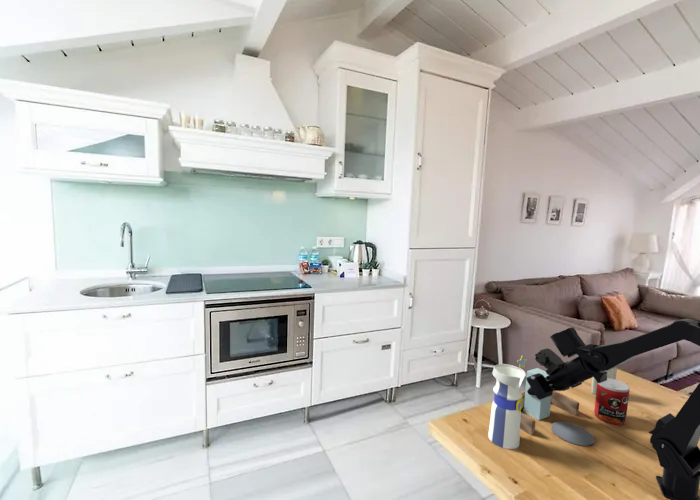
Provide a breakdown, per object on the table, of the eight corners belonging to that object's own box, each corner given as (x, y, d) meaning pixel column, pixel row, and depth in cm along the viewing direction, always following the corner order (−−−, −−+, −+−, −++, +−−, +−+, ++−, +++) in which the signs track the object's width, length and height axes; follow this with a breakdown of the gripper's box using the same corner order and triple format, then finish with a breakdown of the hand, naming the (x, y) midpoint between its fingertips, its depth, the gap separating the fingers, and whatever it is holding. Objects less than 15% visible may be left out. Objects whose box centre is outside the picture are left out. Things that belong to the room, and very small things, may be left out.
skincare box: (612, 393, 118) (616, 359, 116) (614, 399, 114) (618, 364, 113) (590, 388, 121) (593, 355, 120) (591, 393, 117) (594, 359, 116)
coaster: (596, 450, 88) (596, 449, 88) (551, 437, 93) (551, 435, 93) (592, 430, 97) (592, 429, 97) (551, 418, 102) (551, 417, 102)
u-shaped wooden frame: (578, 414, 104) (579, 402, 104) (531, 435, 94) (532, 421, 93) (542, 397, 114) (543, 385, 113) (496, 413, 103) (497, 401, 103)
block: (549, 415, 103) (553, 374, 102) (539, 420, 101) (542, 378, 99) (533, 407, 107) (537, 367, 106) (523, 411, 105) (526, 371, 104)
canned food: (596, 421, 101) (599, 386, 100) (591, 408, 108) (595, 375, 107) (628, 429, 97) (633, 393, 96) (622, 415, 104) (626, 381, 103)
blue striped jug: (527, 440, 91) (535, 350, 89) (513, 454, 86) (521, 358, 83) (496, 425, 97) (503, 340, 95) (481, 437, 92) (488, 348, 89)
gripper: (575, 339, 102) (537, 360, 113) (536, 349, 94) (498, 370, 105) (601, 375, 96) (558, 394, 107) (562, 390, 88) (519, 408, 99)
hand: (534, 390), depth 105 cm, fingers closed on block, 5 cm apart
